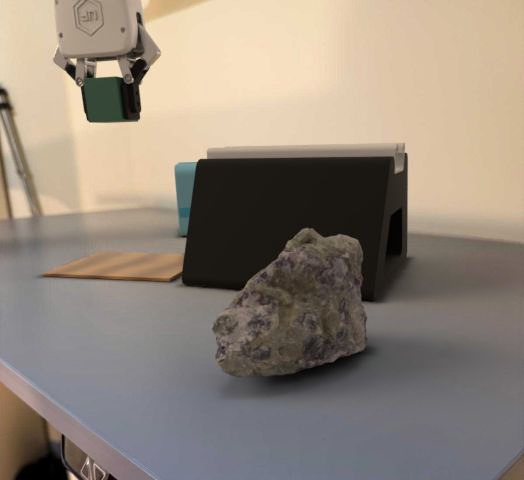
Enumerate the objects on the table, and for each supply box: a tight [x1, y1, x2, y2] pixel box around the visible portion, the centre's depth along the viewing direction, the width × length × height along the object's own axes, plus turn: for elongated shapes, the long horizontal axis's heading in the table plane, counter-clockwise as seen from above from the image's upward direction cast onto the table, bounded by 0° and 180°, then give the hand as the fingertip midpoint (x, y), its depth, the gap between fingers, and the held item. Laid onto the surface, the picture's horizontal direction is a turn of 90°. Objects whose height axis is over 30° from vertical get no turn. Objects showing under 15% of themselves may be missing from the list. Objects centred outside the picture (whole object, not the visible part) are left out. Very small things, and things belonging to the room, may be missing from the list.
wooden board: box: [42, 251, 185, 282], centre depth 74 cm, size 18×14×1 cm
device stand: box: [181, 142, 409, 301], centre depth 66 cm, size 22×22×15 cm
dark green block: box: [83, 75, 139, 124], centre depth 69 cm, size 5×5×5 cm
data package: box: [173, 161, 198, 237], centre depth 98 cm, size 12×4×12 cm, turn 4°
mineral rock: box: [210, 228, 368, 378], centre depth 40 cm, size 13×11×10 cm
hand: (113, 118), depth 69 cm, fingers closed on dark green block, 4 cm apart
